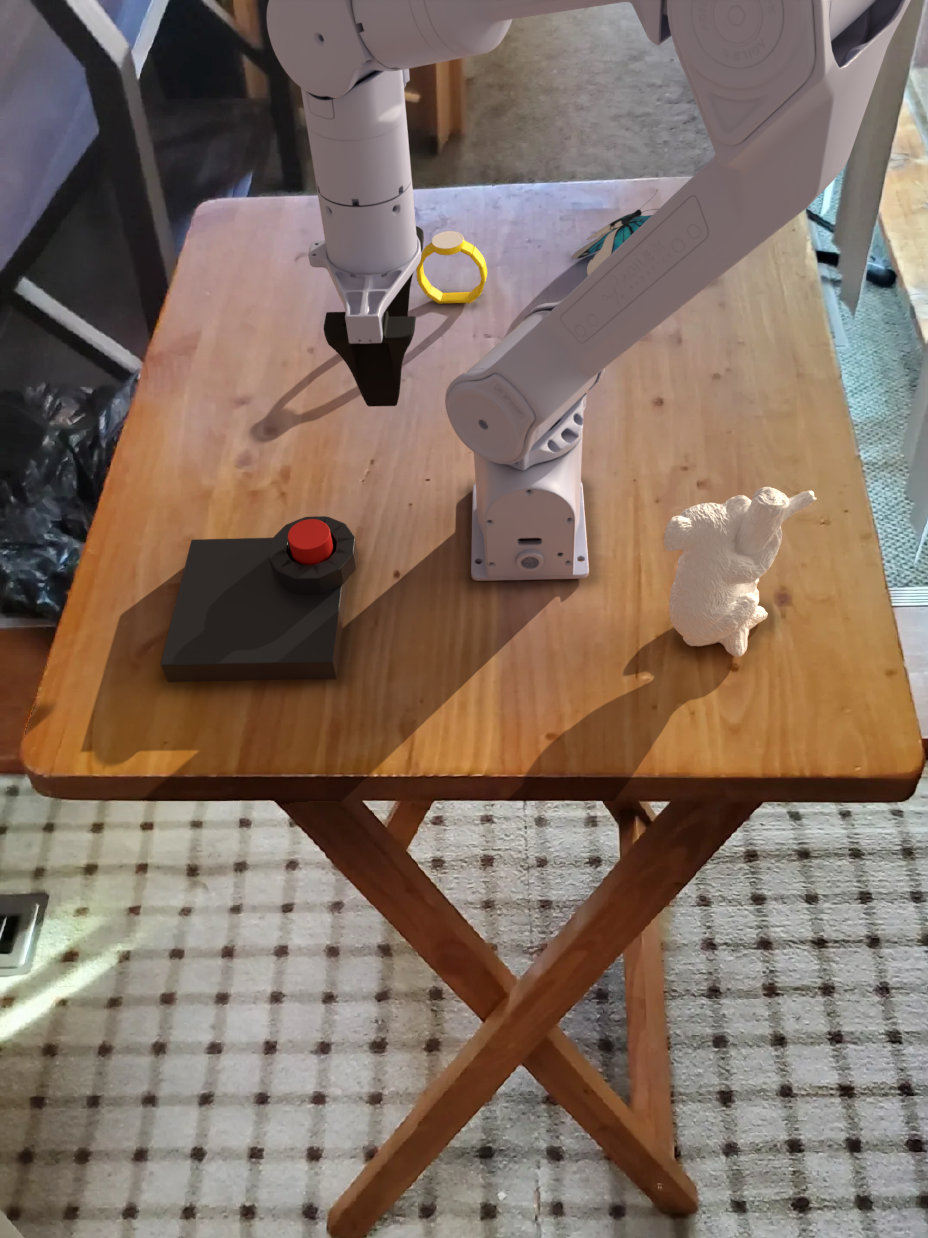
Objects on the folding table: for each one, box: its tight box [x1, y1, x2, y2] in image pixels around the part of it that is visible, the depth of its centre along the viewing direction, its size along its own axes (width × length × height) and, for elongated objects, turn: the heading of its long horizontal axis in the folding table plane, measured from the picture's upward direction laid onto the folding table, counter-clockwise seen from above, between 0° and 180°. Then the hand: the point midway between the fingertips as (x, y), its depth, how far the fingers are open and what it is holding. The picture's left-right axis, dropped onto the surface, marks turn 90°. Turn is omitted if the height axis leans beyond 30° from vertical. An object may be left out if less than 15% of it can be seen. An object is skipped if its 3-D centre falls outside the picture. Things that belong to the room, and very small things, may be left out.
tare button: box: [288, 519, 333, 565], centre depth 71 cm, size 3×3×2 cm
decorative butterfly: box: [571, 189, 659, 277], centre depth 95 cm, size 10×6×10 cm
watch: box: [415, 230, 488, 305], centre depth 93 cm, size 6×3×6 cm, turn 81°
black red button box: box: [160, 515, 359, 683], centre depth 71 cm, size 11×12×4 cm
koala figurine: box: [663, 486, 817, 658], centre depth 65 cm, size 8×7×12 cm
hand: (386, 367), depth 75 cm, fingers open, 7 cm apart
